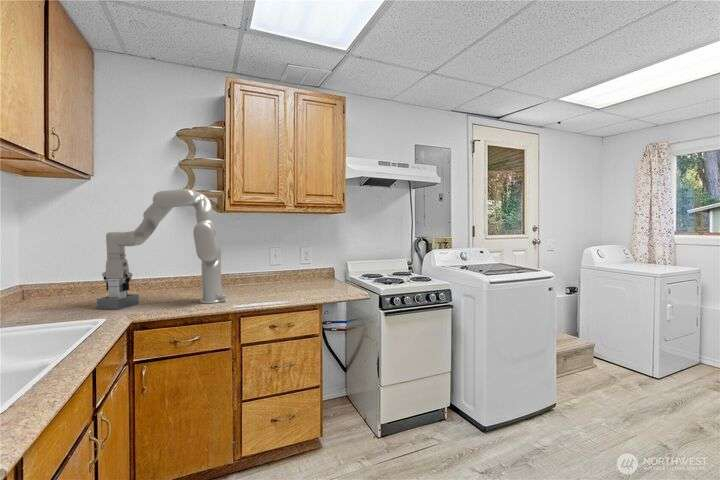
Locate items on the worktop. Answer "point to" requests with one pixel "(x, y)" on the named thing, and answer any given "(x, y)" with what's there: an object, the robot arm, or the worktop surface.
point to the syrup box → (116, 289)
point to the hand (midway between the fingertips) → (117, 290)
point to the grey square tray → (117, 302)
